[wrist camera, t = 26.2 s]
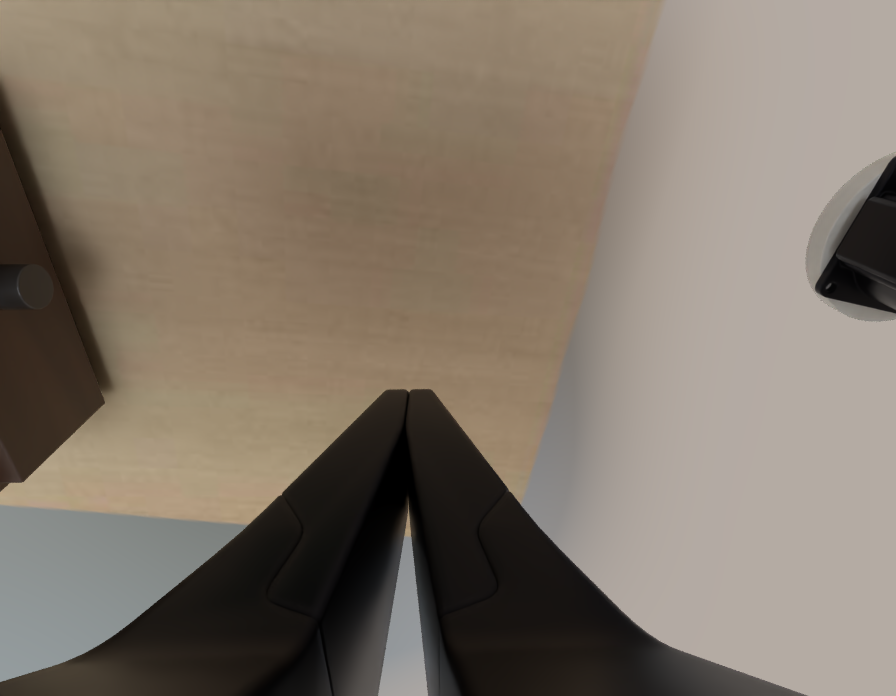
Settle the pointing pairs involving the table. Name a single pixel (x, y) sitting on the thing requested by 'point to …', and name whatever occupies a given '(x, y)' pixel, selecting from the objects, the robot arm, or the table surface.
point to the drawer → (35, 343)
